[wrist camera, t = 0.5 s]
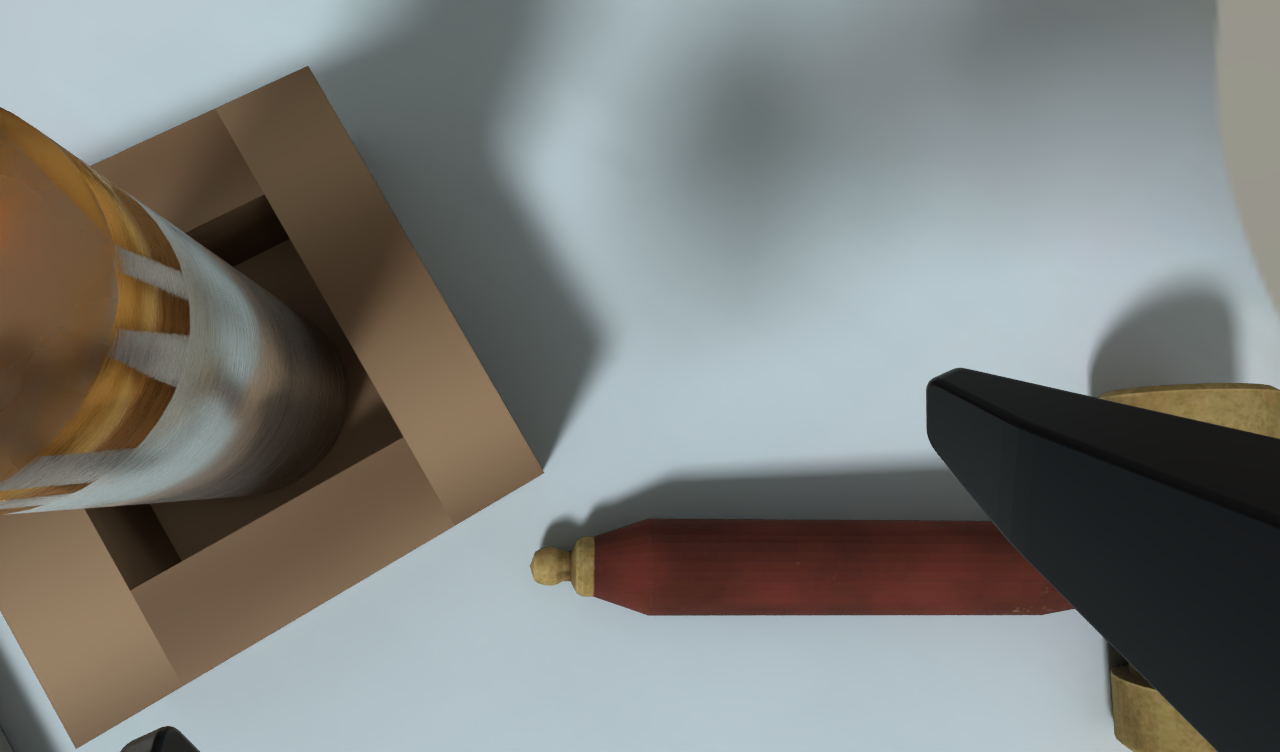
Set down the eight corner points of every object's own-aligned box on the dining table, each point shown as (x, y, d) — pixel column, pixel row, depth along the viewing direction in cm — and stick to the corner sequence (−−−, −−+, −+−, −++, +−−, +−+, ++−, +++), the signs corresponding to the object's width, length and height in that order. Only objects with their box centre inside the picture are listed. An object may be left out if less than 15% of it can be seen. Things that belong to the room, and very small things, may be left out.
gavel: (517, 797, 19) (529, 368, 20) (530, 735, 23) (539, 389, 24) (1370, 784, 20) (1330, 383, 21) (1225, 728, 25) (1199, 400, 26)
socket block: (541, 473, 22) (543, 472, 19) (163, 696, 21) (75, 748, 17) (346, 136, 23) (307, 65, 19) (-44, 323, 21) (-177, 288, 17)
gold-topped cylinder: (383, 432, 21) (198, 379, 9) (201, 534, 20) (-260, 618, 8) (289, 268, 21) (-10, 10, 9) (104, 361, 20) (-480, 205, 9)
